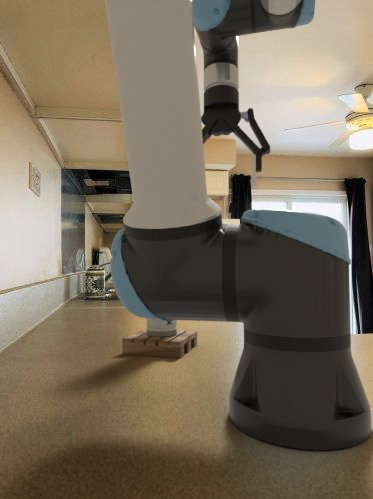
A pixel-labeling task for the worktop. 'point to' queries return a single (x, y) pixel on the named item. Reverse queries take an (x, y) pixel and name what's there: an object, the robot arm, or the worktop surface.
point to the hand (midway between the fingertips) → (221, 189)
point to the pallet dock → (159, 344)
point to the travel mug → (161, 328)
